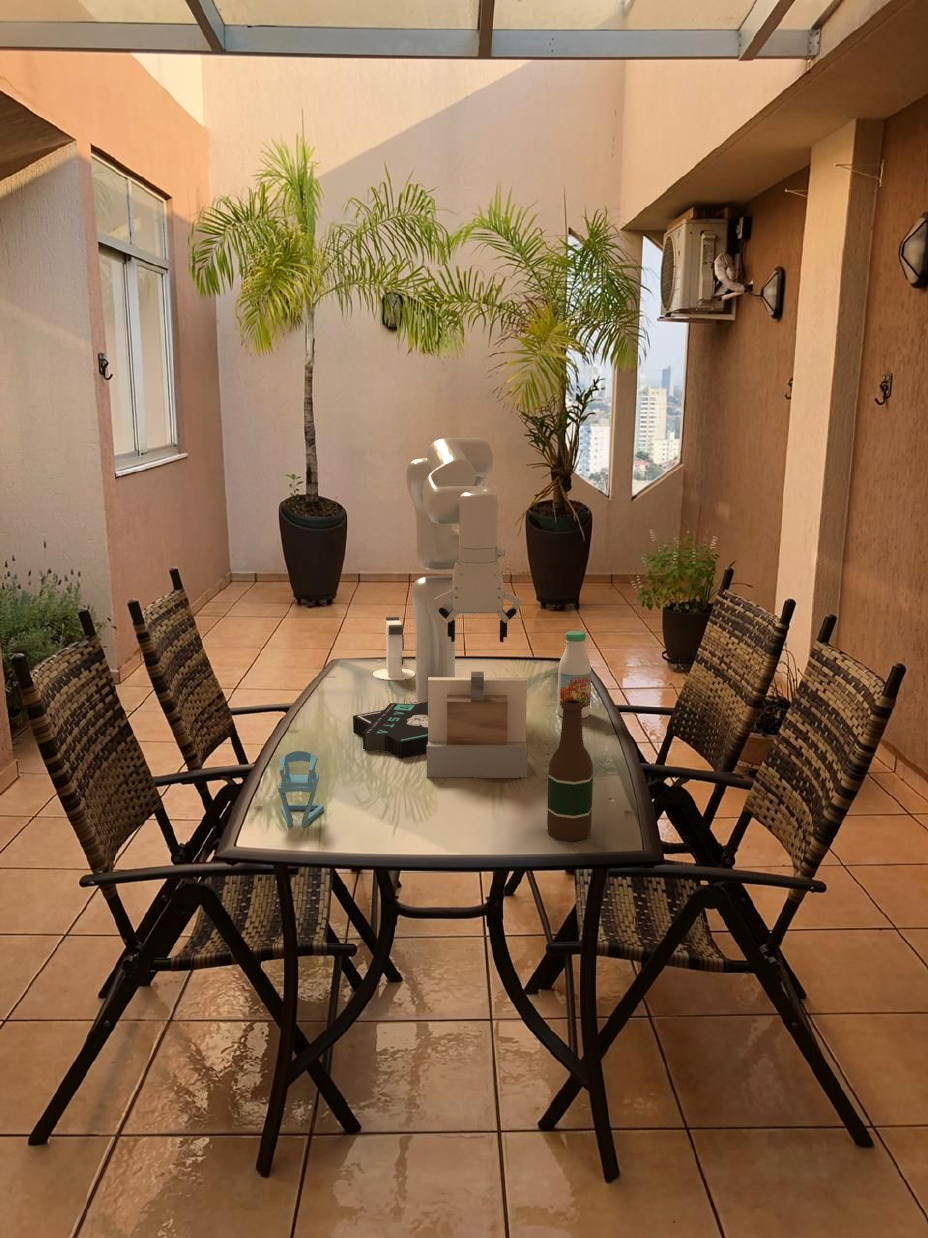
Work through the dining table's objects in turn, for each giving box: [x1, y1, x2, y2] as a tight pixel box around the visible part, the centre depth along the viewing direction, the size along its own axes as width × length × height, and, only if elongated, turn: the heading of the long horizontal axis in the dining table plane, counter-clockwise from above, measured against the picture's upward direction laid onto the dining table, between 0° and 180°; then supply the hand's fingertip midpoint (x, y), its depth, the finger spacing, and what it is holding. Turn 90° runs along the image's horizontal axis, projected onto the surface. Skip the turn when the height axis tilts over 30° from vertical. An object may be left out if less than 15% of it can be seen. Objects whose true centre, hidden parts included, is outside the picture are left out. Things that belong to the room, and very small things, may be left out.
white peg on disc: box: [372, 616, 416, 681], centre depth 284 cm, size 12×11×15 cm
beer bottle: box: [546, 699, 594, 843], centre depth 183 cm, size 8×8×24 cm
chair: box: [277, 750, 324, 828], centre depth 190 cm, size 8×8×12 cm
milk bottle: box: [556, 630, 592, 719], centre depth 250 cm, size 8×8×20 cm
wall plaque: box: [352, 702, 428, 760], centre depth 236 cm, size 30×4×30 cm
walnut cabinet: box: [447, 671, 508, 745], centre depth 213 cm, size 5×12×15 cm, turn 90°
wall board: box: [426, 676, 529, 779], centre depth 214 cm, size 10×20×18 cm, turn 89°
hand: (477, 640), depth 211 cm, fingers open, 9 cm apart
